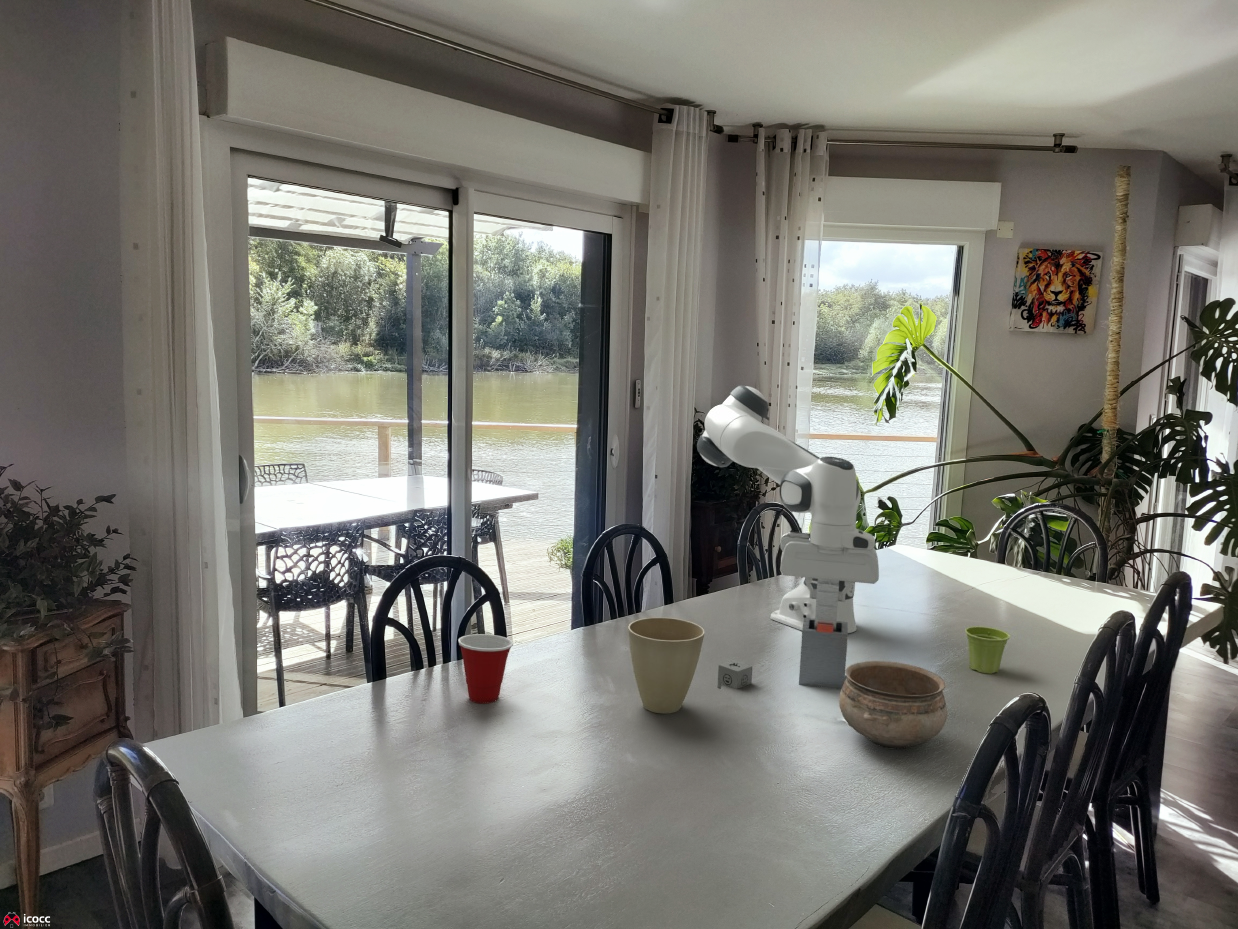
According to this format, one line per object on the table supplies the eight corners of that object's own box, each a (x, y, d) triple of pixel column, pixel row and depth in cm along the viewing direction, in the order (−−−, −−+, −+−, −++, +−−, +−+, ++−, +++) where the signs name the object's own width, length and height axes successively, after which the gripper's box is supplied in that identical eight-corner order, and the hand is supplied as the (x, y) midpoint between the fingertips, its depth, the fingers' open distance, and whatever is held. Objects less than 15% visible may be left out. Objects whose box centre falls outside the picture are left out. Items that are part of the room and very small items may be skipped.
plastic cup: (523, 698, 180) (524, 640, 178) (480, 713, 172) (482, 652, 170) (488, 683, 187) (489, 627, 185) (445, 697, 179) (446, 638, 177)
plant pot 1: (648, 727, 168) (651, 644, 166) (612, 698, 181) (614, 621, 179) (715, 714, 175) (719, 635, 173) (675, 688, 188) (679, 614, 186)
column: (811, 676, 190) (817, 584, 188) (812, 668, 195) (817, 578, 193) (832, 679, 189) (838, 586, 187) (832, 671, 194) (839, 580, 192)
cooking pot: (925, 782, 150) (931, 711, 149) (816, 752, 160) (820, 685, 159) (957, 731, 171) (963, 669, 170) (859, 707, 181) (863, 649, 180)
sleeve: (780, 693, 187) (785, 626, 185) (785, 668, 203) (789, 605, 201) (860, 703, 183) (865, 634, 182) (859, 676, 199) (863, 613, 197)
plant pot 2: (1010, 678, 201) (1013, 641, 200) (965, 674, 203) (969, 636, 202) (1001, 664, 210) (1004, 628, 209) (958, 660, 212) (962, 624, 211)
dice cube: (732, 682, 193) (733, 659, 192) (751, 689, 189) (752, 666, 189) (717, 687, 189) (718, 664, 189) (736, 694, 186) (737, 671, 185)
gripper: (780, 533, 188) (776, 598, 190) (882, 542, 184) (877, 608, 185) (782, 528, 194) (778, 590, 196) (880, 536, 190) (875, 600, 191)
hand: (827, 599), depth 191 cm, fingers closed on column, 4 cm apart
